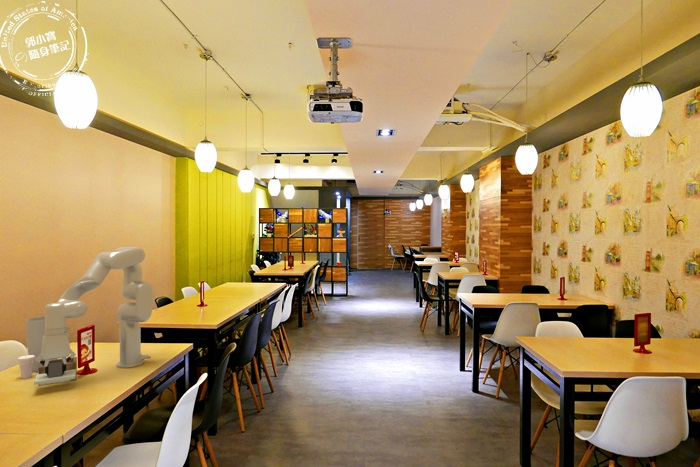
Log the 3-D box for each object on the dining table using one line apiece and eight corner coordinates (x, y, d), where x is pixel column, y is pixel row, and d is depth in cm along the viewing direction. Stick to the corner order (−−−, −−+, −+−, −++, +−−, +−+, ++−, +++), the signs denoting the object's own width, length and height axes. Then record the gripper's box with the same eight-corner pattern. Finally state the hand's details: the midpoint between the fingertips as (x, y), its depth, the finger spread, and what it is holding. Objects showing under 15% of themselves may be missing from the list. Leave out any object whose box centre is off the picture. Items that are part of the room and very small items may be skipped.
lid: (76, 374, 194) (76, 355, 194) (75, 381, 185) (75, 361, 185) (36, 379, 187) (36, 360, 187) (33, 387, 177) (33, 367, 177)
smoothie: (25, 380, 197) (25, 349, 197) (14, 379, 198) (14, 349, 198) (38, 375, 203) (38, 346, 203) (27, 375, 204) (27, 345, 204)
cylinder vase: (55, 370, 212) (54, 319, 212) (24, 374, 206) (23, 321, 206) (59, 363, 223) (59, 315, 223) (30, 366, 217) (29, 317, 217)
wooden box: (76, 373, 206) (76, 356, 206) (76, 380, 196) (76, 362, 196) (41, 378, 199) (40, 361, 199) (38, 385, 189) (38, 367, 189)
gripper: (79, 328, 194) (79, 368, 193) (32, 332, 185) (32, 375, 185) (78, 331, 187) (78, 373, 187) (30, 335, 178) (30, 380, 178)
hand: (55, 373), depth 186 cm, fingers closed on lid, 4 cm apart
